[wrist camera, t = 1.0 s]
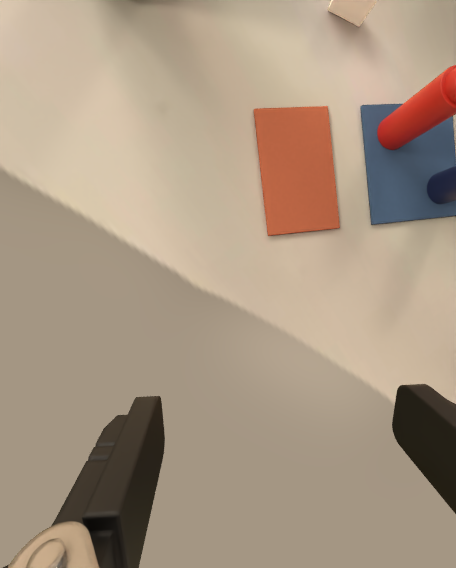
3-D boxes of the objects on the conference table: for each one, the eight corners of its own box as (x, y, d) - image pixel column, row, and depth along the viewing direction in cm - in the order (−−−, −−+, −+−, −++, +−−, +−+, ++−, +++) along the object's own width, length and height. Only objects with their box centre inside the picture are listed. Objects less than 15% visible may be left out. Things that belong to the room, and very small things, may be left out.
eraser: (330, 1, 35) (346, -31, 31) (361, 18, 36) (381, -11, 32) (327, 10, 35) (343, -21, 31) (358, 27, 36) (378, -1, 32)
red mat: (253, 110, 34) (254, 108, 33) (326, 108, 35) (327, 106, 35) (267, 235, 35) (268, 235, 34) (338, 228, 36) (339, 227, 36)
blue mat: (360, 106, 36) (362, 104, 35) (448, 103, 38) (451, 101, 37) (371, 224, 37) (373, 224, 36) (457, 215, 39) (460, 215, 38)
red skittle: (375, 118, 36) (459, 48, 25) (404, 116, 36) (498, 48, 25) (378, 151, 36) (462, 96, 25) (406, 149, 37) (501, 95, 26)
